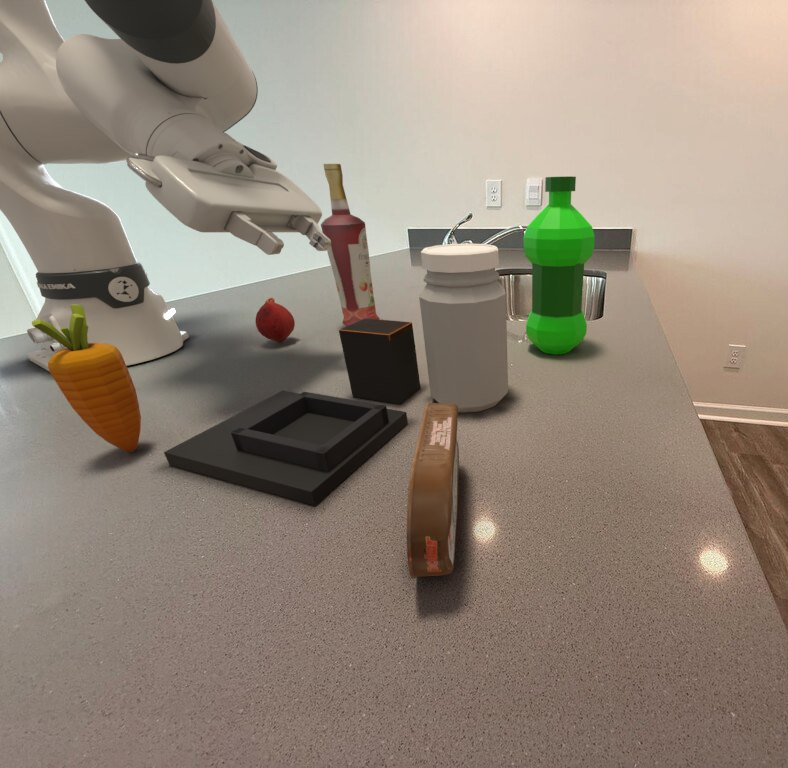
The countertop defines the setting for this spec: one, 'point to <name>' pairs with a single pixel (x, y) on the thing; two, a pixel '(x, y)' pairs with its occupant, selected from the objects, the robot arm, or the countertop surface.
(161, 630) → the countertop surface
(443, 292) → the jar
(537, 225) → the plastic bottle
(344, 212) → the liquor
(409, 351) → the pad block
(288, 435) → the base pad
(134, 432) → the carrot
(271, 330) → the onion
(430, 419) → the tin
